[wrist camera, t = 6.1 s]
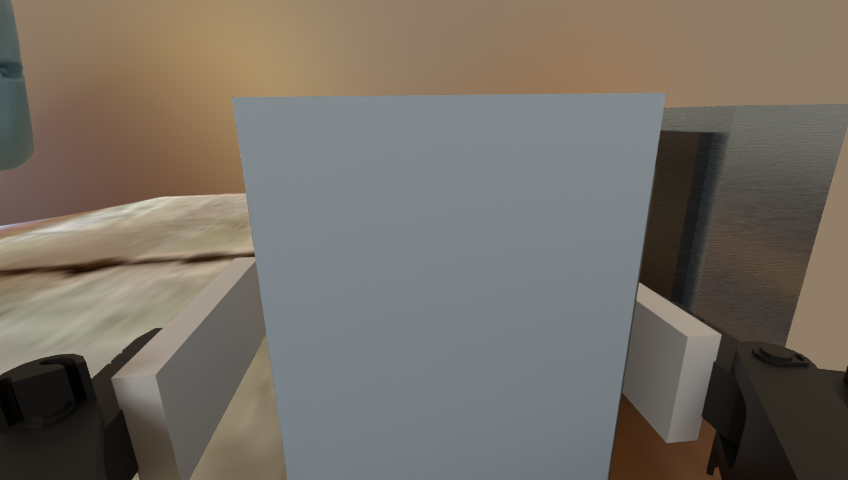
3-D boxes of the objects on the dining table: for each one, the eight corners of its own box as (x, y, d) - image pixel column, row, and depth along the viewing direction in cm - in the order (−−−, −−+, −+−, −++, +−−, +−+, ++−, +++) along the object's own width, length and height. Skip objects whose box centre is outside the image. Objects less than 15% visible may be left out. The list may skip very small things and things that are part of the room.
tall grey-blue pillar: (589, 760, 9) (712, 92, 5) (334, 804, 8) (232, 97, 4) (489, 453, 17) (504, 108, 13) (357, 466, 17) (328, 110, 13)
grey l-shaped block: (301, 445, 18) (258, 111, 14) (326, 342, 26) (304, 114, 22) (768, 403, 20) (853, 103, 16) (655, 320, 28) (691, 108, 24)
